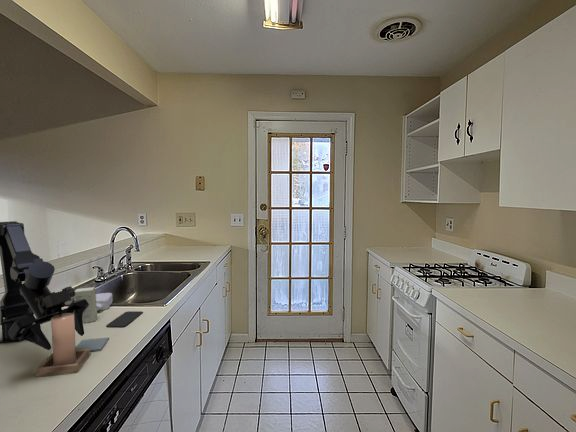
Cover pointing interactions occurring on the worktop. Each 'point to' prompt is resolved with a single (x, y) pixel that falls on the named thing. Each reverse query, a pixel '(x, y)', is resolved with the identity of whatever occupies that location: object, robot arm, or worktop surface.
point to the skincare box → (90, 296)
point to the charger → (103, 301)
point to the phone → (124, 319)
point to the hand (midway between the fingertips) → (67, 341)
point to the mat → (92, 344)
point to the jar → (63, 339)
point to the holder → (49, 370)
